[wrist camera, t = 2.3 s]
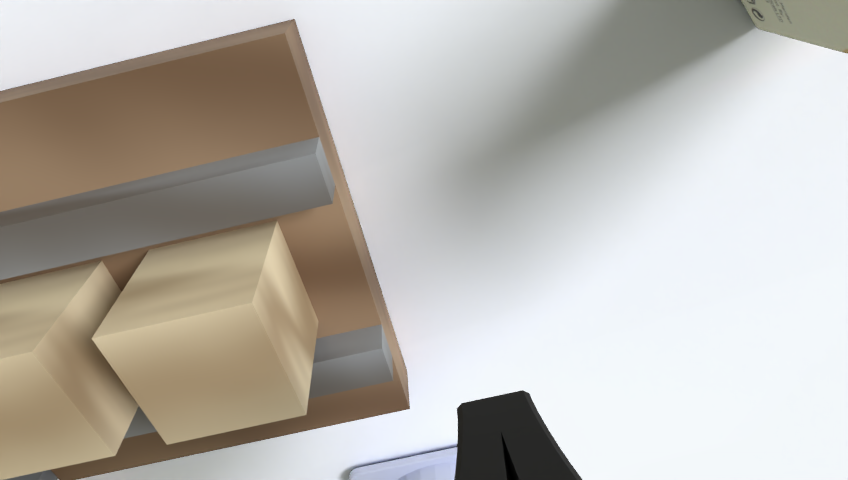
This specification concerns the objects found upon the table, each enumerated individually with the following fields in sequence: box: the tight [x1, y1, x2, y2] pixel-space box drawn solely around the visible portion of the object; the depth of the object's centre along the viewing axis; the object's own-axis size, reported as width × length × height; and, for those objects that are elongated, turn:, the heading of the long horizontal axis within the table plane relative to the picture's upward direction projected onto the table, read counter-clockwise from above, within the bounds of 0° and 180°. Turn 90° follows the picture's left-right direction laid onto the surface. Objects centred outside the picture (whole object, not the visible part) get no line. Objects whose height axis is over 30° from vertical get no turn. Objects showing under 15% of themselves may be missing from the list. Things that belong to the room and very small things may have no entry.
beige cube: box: [0, 261, 139, 480], centre depth 16 cm, size 4×4×4 cm
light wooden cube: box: [91, 221, 319, 445], centre depth 16 cm, size 4×4×4 cm
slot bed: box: [0, 19, 410, 480], centre depth 18 cm, size 14×14×3 cm
